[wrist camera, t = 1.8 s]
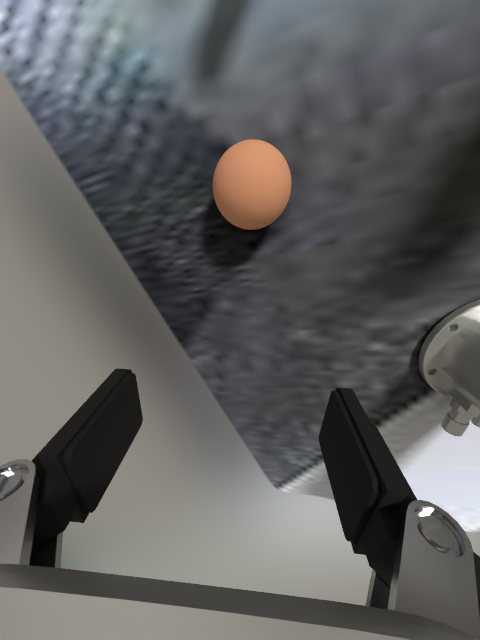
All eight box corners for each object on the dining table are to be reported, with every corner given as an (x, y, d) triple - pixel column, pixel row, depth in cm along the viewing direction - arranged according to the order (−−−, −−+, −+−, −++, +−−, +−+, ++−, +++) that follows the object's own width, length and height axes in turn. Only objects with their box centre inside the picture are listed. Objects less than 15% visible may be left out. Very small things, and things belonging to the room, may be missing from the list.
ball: (281, 229, 22) (290, 234, 16) (218, 225, 22) (206, 229, 17) (290, 152, 19) (304, 128, 14) (219, 149, 20) (205, 124, 14)
